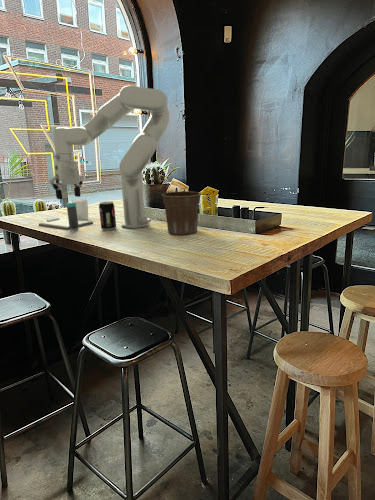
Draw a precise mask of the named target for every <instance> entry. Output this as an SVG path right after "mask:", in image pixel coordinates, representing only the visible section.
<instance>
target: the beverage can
mask: <svg viewBox="0 0 375 500" xmlns="http://www.w3.org/2000/svg"><path fill="white" fill-rule="evenodd" d="M98 209H99V210H98V211H99V220H100V228H101V230H103V231H113V230H116V228H117V222H116V221H117V220H116V209H115V204H114V202H113V201H102V202H99V205H98Z"/></svg>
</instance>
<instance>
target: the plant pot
mask: <svg viewBox="0 0 375 500" xmlns="http://www.w3.org/2000/svg"><path fill="white" fill-rule="evenodd" d="M201 196H202V193H201V192H200V191H199V192H197V191H187V190H186V191H170V192H169V191H168V192H164V193H162V194H161V197H162V201H163V205H164V210H165V218H166V227H167V233H169V234H171V235H174V236H184V235H187V234H188V235H191V234H192V235H193V234H196V233H197V232H198V220H199V219H198V218H199V207H200V203H201Z"/></svg>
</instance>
